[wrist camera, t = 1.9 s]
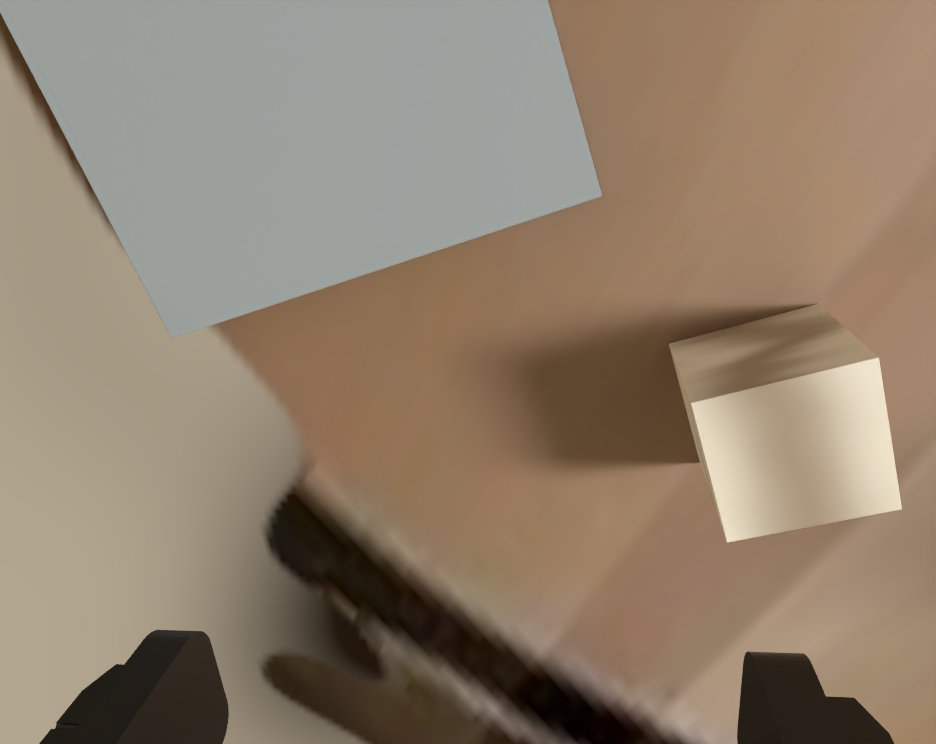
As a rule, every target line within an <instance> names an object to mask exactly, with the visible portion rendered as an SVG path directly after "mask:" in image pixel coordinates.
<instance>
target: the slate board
mask: <svg viewBox="0 0 936 744" xmlns="http://www.w3.org/2000/svg"><path fill="white" fill-rule="evenodd" d="M0 13H1V15H2V17H3V19H4V21H5V23H6V25H7V27H8V29H9V30H10V32H11V34H12V36H13V38H14V40H15V42H16V44H17V46H18V48H19V49H20V51H21V53H22V55H23V57H24V59H25V61H26V63H27V65H28V67H29V68H30V70H31V72H32V74H33V76H34V78H35V80H36V82H37V84H38V86H39V88H40V89H41V91H42V93H43V95H44V97H45V99H46V101H47V103H48V105H49V107H50V108H51V110H52V112H53V114H54V116H55V118H56V120H57V122H58V124H59V126H60V127H61V129H62V131H63V133H64V135H65V137H66V139H67V141H68V143H69V145H70V146H71V148H72V150H73V152H74V154H75V156H76V158H77V160H78V162H79V164H80V166H81V167H82V169H83V171H84V173H85V175H86V177H87V179H88V181H89V183H90V185H91V186H92V188H93V190H94V192H95V194H96V196H97V198H98V200H99V202H100V204H101V205H102V207H103V209H104V211H105V213H106V215H107V217H108V219H109V221H110V223H111V225H112V226H113V228H114V230H115V232H116V234H117V236H118V238H119V240H120V242H121V244H122V245H123V247H124V249H125V251H126V253H127V255H128V257H129V259H130V261H131V262H132V264H133V266H134V268H135V270H136V272H137V274H138V276H139V278H140V280H141V281H142V283H143V285H144V287H145V289H146V291H147V293H148V295H149V297H150V299H151V300H152V302H153V304H154V306H155V308H156V310H157V312H158V314H159V316H160V318H161V320H162V321H163V323H164V325H165V327H166V329H167V331H168V333H169V335H170V337H171V338H175V337H177V336H180V335H183V334H187V333H190V332H193V331H196V330H199V329H202V328H205V327H208V326H211V325H214V324H217V323H220V322H223V321H226V320H229V319H232V318H235V317H238V316H241V315H244V314H247V313H250V312H253V311H256V310H259V309H262V308H265V307H268V306H271V305H274V304H277V303H280V302H283V301H286V300H289V299H292V298H295V297H298V296H302V295H305V294H308V293H311V292H314V291H317V290H320V289H323V288H326V287H329V286H332V285H335V284H338V283H341V282H344V281H347V280H350V279H353V278H356V277H359V276H362V275H365V274H368V273H371V272H374V271H377V270H380V269H383V268H386V267H389V266H392V265H395V264H398V263H401V262H404V261H407V260H410V259H413V258H416V257H419V256H422V255H425V254H428V253H431V252H435V251H438V250H441V249H444V248H447V247H450V246H453V245H456V244H459V243H462V242H465V241H468V240H471V239H474V238H477V237H480V236H483V235H486V234H489V233H492V232H495V231H498V230H501V229H504V228H507V227H510V226H513V225H516V224H519V223H522V222H525V221H528V220H531V219H534V218H537V217H540V216H543V215H546V214H549V213H552V212H555V211H558V210H561V209H565V208H568V207H571V206H574V205H577V204H580V203H583V202H586V201H589V200H592V199H595V198H598V197H601V196H602V193H601V190H600V186H599V182H598V179H597V175H596V172H595V168H594V164H593V161H592V157H591V154H590V150H589V146H588V143H587V139H586V136H585V132H584V128H583V125H582V121H581V118H580V114H579V110H578V107H577V103H576V100H575V96H574V92H573V89H572V85H571V82H570V78H569V74H568V71H567V67H566V64H565V60H564V57H563V53H562V49H561V46H560V42H559V39H558V35H557V31H556V28H555V24H554V21H553V17H552V13H551V10H550V6H549V3H548V0H0Z"/></svg>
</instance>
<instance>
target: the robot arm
mask: <svg viewBox="0 0 936 744" xmlns="http://www.w3.org/2000/svg"><path fill="white" fill-rule="evenodd" d="M227 724H228V703H227V699H226V695H225V692H224V688H223V684H222V681H221V677H220V674H219V670H218V667H217V663H216V660H215V656H214V652H213V649H212V645H211V642H210V639H209V637H208V636H207V635H206V634H205V633H204V632H201V631H174V630H172V631H171V630H156V631H153V632H151V633H150V634H149V635H148V636H146V638H145V639H144V640H143V641H142V643H141V644H140V645H139V646H138V648H137V649H136V650H135V652H134V653H133V654H132V655H131V657H130V658H129V659H128V661H127V662H126V663H125V665H119V664H117V665H115V666H114V667H112V668H111V669H110V670H108V671H107V672H106V673H104V674H103V675H102V676H101V677H99V678H98V679H97V680H95V681H94V682H93V683H92V684H90V685H89V686H88V687H87V688H85V689H84V690H83V691H82V692H81V693H80V694H79V695H78V697H77V698H76V699H75V701H73V703H72V704H71V705H70V707H69V708H68V709H67V710H66V711H65V713H64V714H63V715H62V716H61V718H60V719H59V720H58V721H57V725H56V728H55V729H51V730H50V731H49V732H48V734H47V735H46V736H45V737H44V739H43V740H42V741H41V742H40V744H222V743H223V740H224V737H225V734H226V730H227ZM737 740H738V744H894V742H893V740H892V738H891V736H890V734H889V733H888V732H887V731H886V730H885V729H884V728H883V727H882V726H881V725H880V724H879V723H878V722H877V721H876V720H875V719H874V718H873V717H872V716H871V714H870V713H869V712H868V711H867V710H866V709H865V708H864V707H863V706H862V705H861V704H860V703H859V702H858V701H857V700H856V699H855V698H846V697H826V696H825V694H824V691H823V689H822V687H821V684H820V682H819V680H818V677H817V675H816V673H815V671H814V668H813V666H812V664H811V662H810V660H809V658H808V657H807V656H806V655H805V654H800V653H770V652H747V653H746V654H745V657H744V663H743V674H742V685H741V697H740V708H739V719H738V732H737Z"/></svg>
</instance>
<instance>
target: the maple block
mask: <svg viewBox="0 0 936 744" xmlns="http://www.w3.org/2000/svg"><path fill="white" fill-rule="evenodd" d="M669 347H670V351H671V355H672V359H673V362H674V366H675V370H676V374H677V378H678V381H679V385H680V389H681V393H682V397H683V400H684V404H685V408H686V412H687V416H688V419H689V423H690V427H691V431H692V434H693V438H694V442H695V446H696V450H697V453H698V457H699V461H700V464H701V467H702V470H703V473H704V476H705V479H706V482H707V485H708V488H709V491H710V494H711V496H712V499H713V502H714V505H715V508H716V511H717V514H718V517H719V520H720V523H721V526H722V529H723V532H724V534H725V537H726V540H727V542H732V541H738V540H743V539H748V538H753V537H759V536H764V535H769V534H774V533H780V532H785V531H790V530H795V529H801V528H806V527H811V526H816V525H822V524H827V523H832V522H837V521H842V520H848V519H853V518H858V517H863V516H869V515H874V514H879V513H884V512H890V511H895V510H900V509H902V506H901V499H900V493H899V486H898V480H897V473H896V467H895V460H894V454H893V447H892V441H891V434H890V428H889V421H888V415H887V408H886V402H885V395H884V389H883V382H882V376H881V369H880V363H879V357H878V356H877V355H875V354H874V353H873V352H872V351H871V350H870V349H869V348H867V347H866V346H865V345H864V344H863V343H862V342H861V341H860V340H858V339H857V338H856V337H855V336H854V335H853V334H852V333H850V332H849V331H848V330H847V329H846V328H845V327H844V326H843V325H841V324H840V323H839V322H838V321H837V320H836V319H835V318H833V317H832V316H831V315H830V314H829V313H828V312H827V311H826V310H824V309H823V308H822V307H821V306H820V305H819V304H816V305H812V306H808V307H804V308H801V309H797V310H793V311H790V312H786V313H782V314H778V315H775V316H771V317H767V318H763V319H760V320H756V321H752V322H748V323H745V324H741V325H737V326H734V327H730V328H726V329H722V330H719V331H715V332H711V333H707V334H704V335H700V336H696V337H692V338H689V339H685V340H681V341H678V342H674V343H670V344H669Z"/></svg>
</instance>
